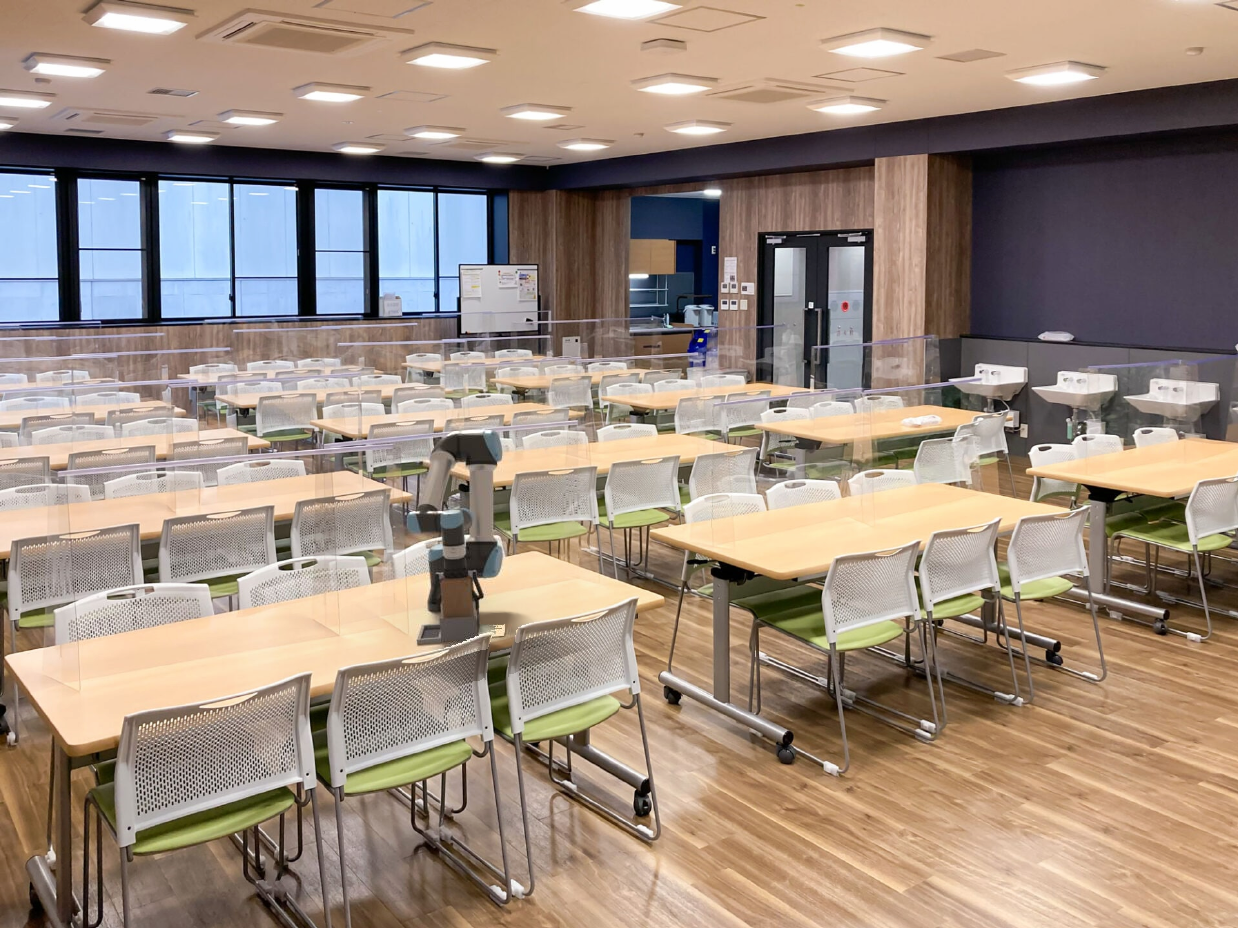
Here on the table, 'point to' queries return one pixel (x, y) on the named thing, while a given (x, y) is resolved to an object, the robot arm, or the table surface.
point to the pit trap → (429, 634)
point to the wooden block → (457, 597)
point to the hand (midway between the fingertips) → (459, 619)
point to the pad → (487, 629)
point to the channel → (459, 628)
